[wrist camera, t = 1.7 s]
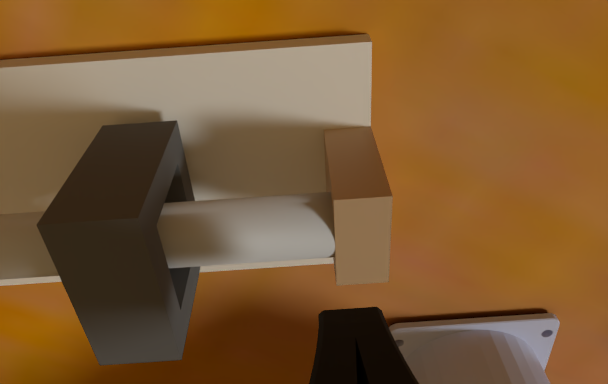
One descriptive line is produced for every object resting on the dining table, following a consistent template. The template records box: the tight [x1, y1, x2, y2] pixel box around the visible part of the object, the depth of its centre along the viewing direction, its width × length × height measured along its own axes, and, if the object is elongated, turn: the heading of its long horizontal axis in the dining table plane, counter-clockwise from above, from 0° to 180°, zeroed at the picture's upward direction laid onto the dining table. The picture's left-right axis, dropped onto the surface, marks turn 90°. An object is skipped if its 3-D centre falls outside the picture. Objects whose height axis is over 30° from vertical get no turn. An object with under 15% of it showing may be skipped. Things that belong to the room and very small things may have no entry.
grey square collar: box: [37, 120, 201, 365], centre depth 15 cm, size 2×5×5 cm, turn 3°
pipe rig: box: [0, 34, 393, 286], centre depth 17 cm, size 22×9×5 cm, turn 94°
